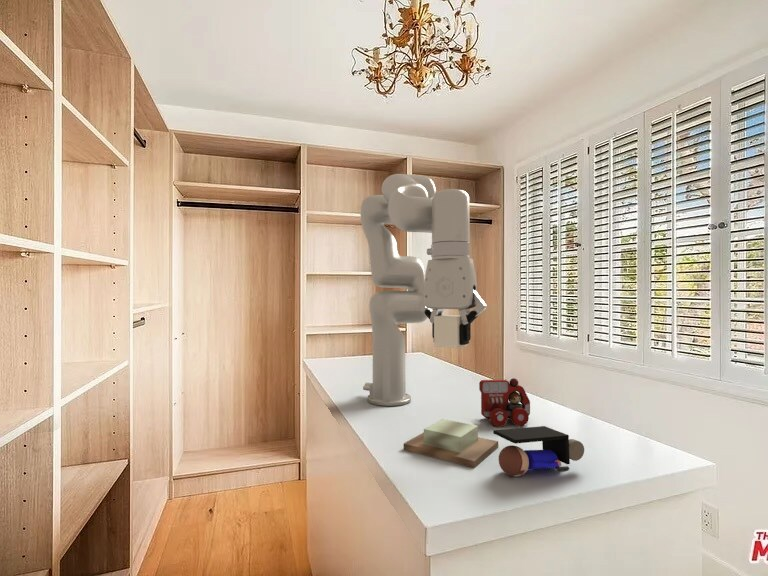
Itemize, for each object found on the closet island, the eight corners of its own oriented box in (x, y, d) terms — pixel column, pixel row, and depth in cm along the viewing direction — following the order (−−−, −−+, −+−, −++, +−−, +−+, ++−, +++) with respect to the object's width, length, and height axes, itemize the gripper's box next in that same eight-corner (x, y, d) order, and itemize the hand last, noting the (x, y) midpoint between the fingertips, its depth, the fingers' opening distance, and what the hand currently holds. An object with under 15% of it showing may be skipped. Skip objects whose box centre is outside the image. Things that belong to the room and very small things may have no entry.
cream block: (434, 346, 83) (433, 316, 83) (445, 343, 87) (445, 315, 88) (457, 348, 80) (456, 317, 81) (467, 345, 85) (467, 315, 85)
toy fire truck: (536, 425, 98) (536, 381, 98) (485, 427, 97) (485, 382, 97) (523, 417, 105) (523, 375, 105) (475, 418, 104) (475, 376, 104)
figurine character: (555, 464, 80) (488, 468, 74) (558, 424, 80) (492, 424, 75) (584, 479, 73) (513, 484, 68) (587, 435, 74) (517, 436, 68)
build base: (403, 449, 83) (403, 428, 83) (432, 432, 93) (432, 413, 93) (474, 467, 75) (474, 444, 75) (498, 447, 84) (498, 426, 85)
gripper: (404, 253, 86) (405, 342, 86) (483, 248, 76) (484, 348, 76) (423, 256, 92) (423, 339, 92) (498, 251, 82) (499, 344, 82)
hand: (451, 342), depth 84 cm, fingers closed on cream block, 5 cm apart
